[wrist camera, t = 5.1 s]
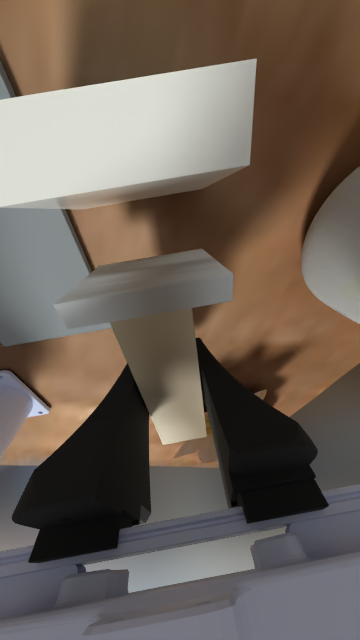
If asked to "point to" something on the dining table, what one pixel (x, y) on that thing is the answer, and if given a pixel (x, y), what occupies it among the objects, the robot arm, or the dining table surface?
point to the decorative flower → (206, 442)
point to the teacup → (336, 249)
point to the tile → (126, 138)
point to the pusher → (155, 328)
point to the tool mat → (37, 268)
